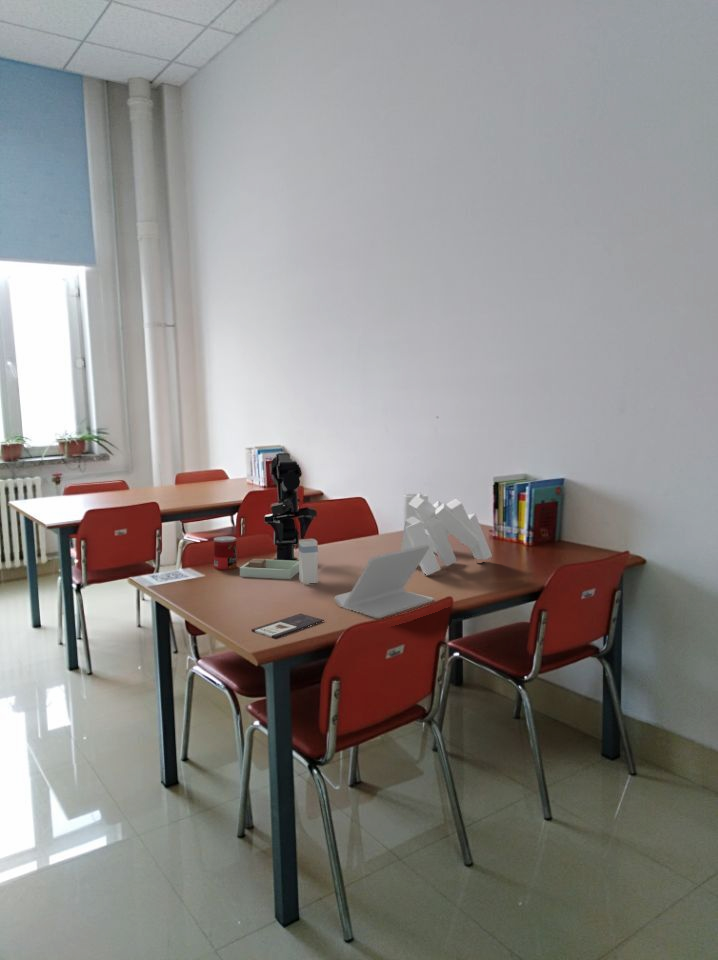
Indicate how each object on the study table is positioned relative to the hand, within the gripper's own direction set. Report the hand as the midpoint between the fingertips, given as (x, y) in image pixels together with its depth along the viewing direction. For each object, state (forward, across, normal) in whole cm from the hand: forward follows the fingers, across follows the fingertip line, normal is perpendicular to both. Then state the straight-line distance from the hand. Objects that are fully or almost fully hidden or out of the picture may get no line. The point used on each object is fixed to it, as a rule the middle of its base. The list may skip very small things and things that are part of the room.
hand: (291, 540), depth 245 cm
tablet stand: (+25, +40, -10) cm, 48 cm away
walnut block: (+10, -13, -3) cm, 16 cm away
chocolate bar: (+31, +27, -42) cm, 59 cm away
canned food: (+7, -27, -3) cm, 28 cm away
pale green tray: (+11, -8, -1) cm, 13 cm away
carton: (+15, +8, -3) cm, 18 cm away
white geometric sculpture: (+12, +39, +37) cm, 55 cm away
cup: (0, +18, +62) cm, 64 cm away
